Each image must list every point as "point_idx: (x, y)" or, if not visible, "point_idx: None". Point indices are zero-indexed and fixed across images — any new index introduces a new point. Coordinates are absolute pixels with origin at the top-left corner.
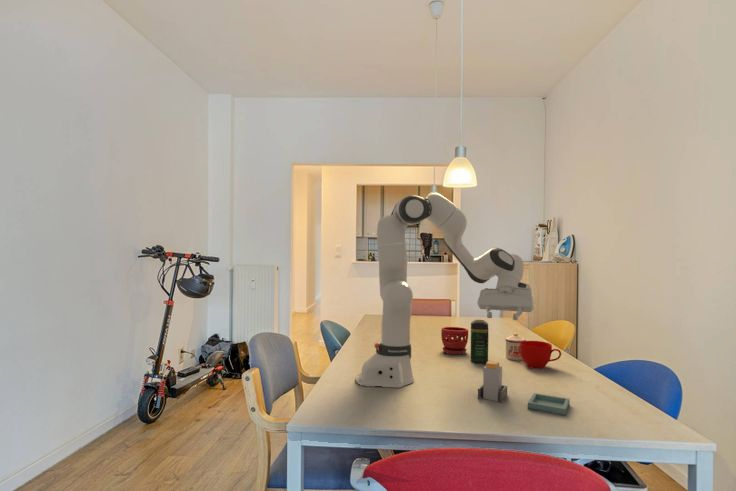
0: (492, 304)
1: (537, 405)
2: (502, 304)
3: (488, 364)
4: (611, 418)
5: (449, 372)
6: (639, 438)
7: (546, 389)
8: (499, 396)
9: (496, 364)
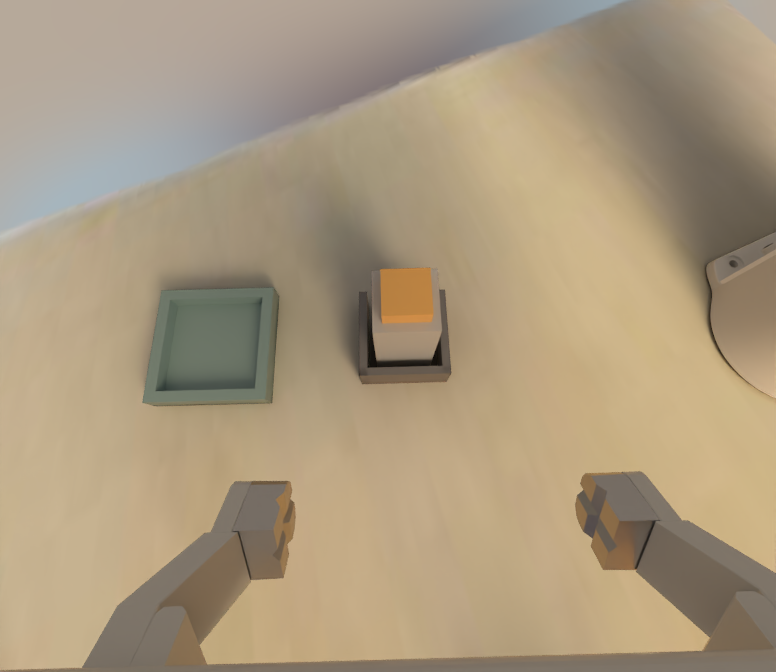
0: (735, 655)
1: (245, 290)
2: (499, 667)
3: (418, 270)
4: (42, 351)
5: None
6: (7, 245)
7: None
8: (367, 298)
9: (381, 269)
